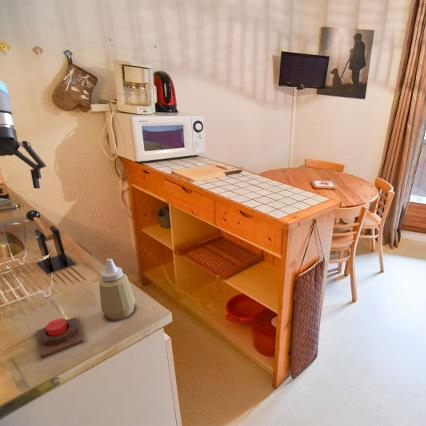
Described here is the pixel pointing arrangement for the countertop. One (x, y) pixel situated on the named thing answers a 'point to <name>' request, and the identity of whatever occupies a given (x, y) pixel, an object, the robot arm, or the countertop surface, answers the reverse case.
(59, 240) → the bracket
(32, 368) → the countertop surface
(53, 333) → the button
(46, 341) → the button box
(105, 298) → the squeeze bottle
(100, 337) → the countertop surface
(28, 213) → the lever
